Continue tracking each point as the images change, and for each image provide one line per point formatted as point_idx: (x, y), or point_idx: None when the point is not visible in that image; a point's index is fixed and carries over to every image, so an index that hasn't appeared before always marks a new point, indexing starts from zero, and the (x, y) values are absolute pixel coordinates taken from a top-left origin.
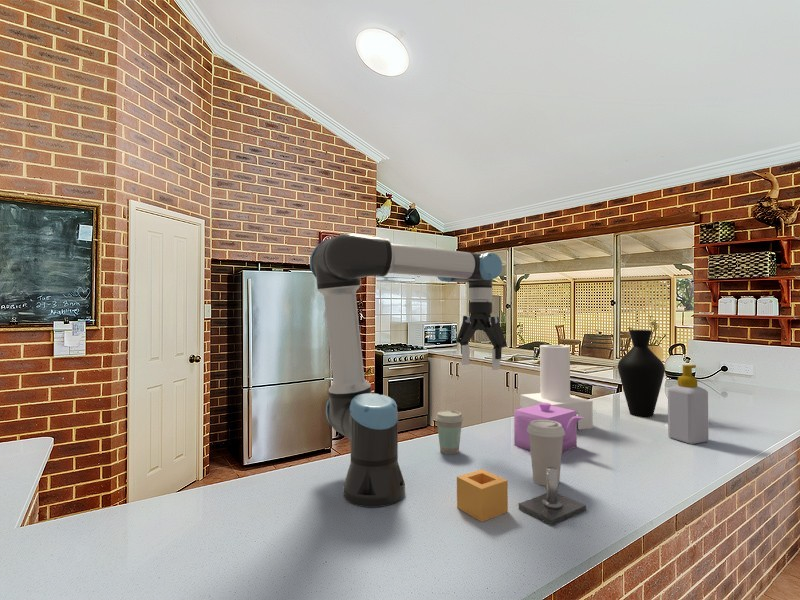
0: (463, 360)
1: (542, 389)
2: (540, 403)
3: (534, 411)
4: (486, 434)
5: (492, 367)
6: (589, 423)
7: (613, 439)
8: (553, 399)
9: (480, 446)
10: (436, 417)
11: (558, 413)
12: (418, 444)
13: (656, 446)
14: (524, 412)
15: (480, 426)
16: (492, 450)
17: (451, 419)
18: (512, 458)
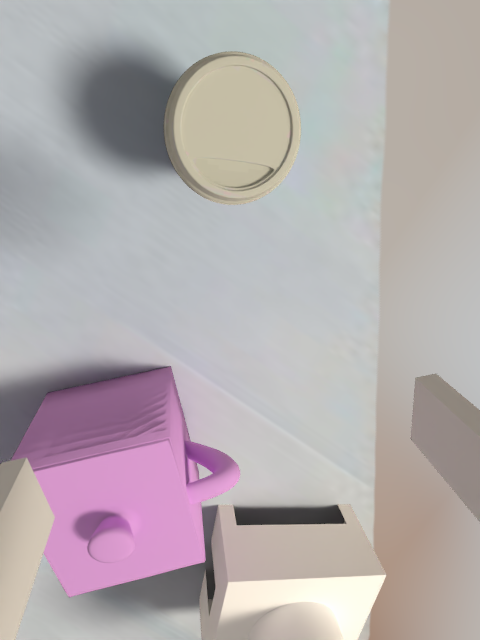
0: (443, 404)
1: (316, 635)
2: (120, 537)
3: (115, 488)
4: (296, 352)
5: (10, 476)
6: (201, 606)
7: (105, 590)
8: (267, 617)
9: (209, 269)
10: (259, 58)
11: (56, 539)
12: (336, 72)
13: (26, 630)
14: (118, 451)
15: (367, 379)
16: (159, 281)
17: (173, 100)
18: (69, 292)
